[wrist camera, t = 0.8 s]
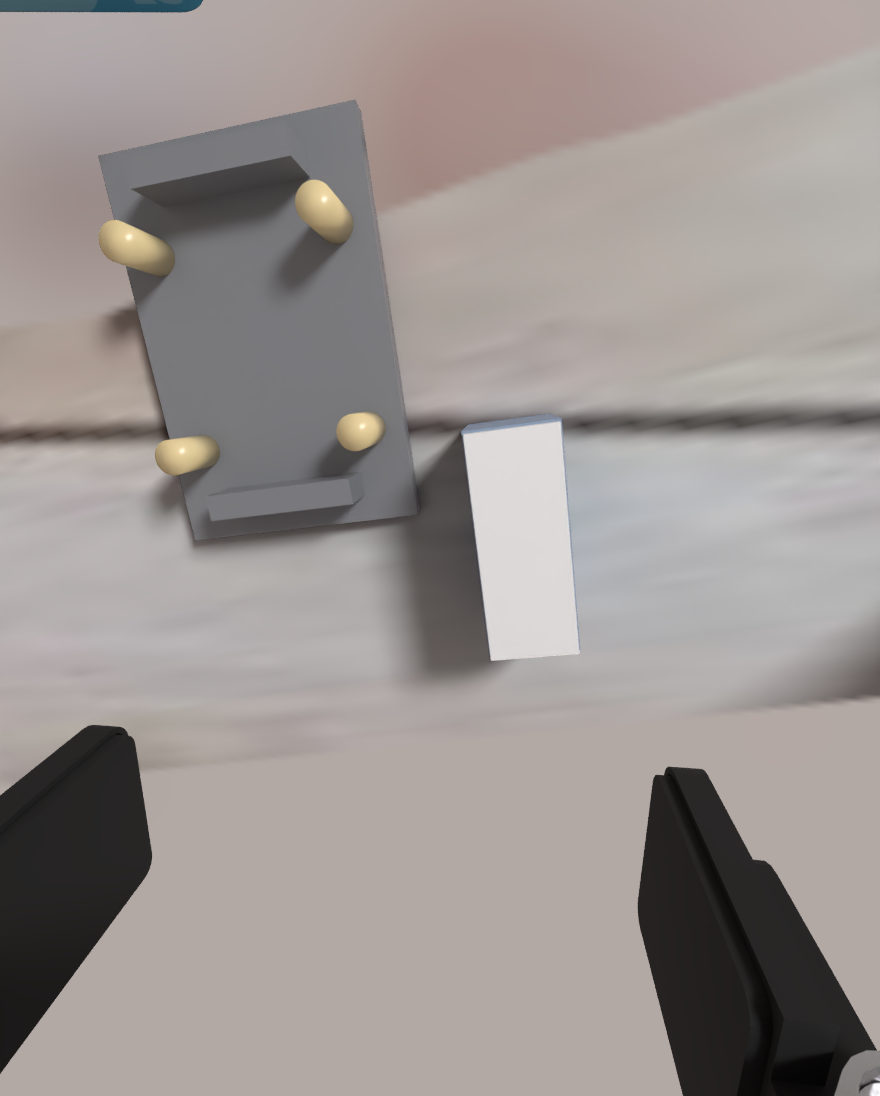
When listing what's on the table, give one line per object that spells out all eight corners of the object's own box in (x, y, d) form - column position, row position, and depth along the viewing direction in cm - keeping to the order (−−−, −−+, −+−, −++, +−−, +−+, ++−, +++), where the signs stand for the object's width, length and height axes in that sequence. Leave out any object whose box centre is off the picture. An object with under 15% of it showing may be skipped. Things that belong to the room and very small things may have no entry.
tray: (360, 110, 25) (335, 59, 21) (420, 510, 29) (408, 528, 26) (112, 164, 27) (47, 125, 23) (204, 535, 31) (162, 556, 27)
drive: (549, 413, 28) (562, 418, 22) (566, 605, 30) (582, 656, 24) (468, 424, 28) (460, 432, 22) (491, 612, 31) (489, 663, 25)
